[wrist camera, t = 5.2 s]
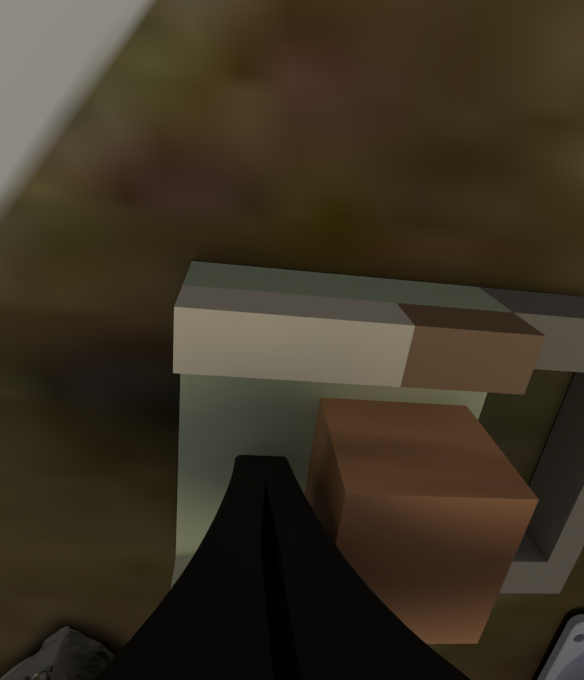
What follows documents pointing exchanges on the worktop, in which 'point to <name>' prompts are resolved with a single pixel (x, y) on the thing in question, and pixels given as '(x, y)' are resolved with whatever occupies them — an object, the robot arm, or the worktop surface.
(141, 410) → the worktop surface
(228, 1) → the worktop surface
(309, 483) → the block
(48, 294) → the worktop surface
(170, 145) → the worktop surface
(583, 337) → the board
